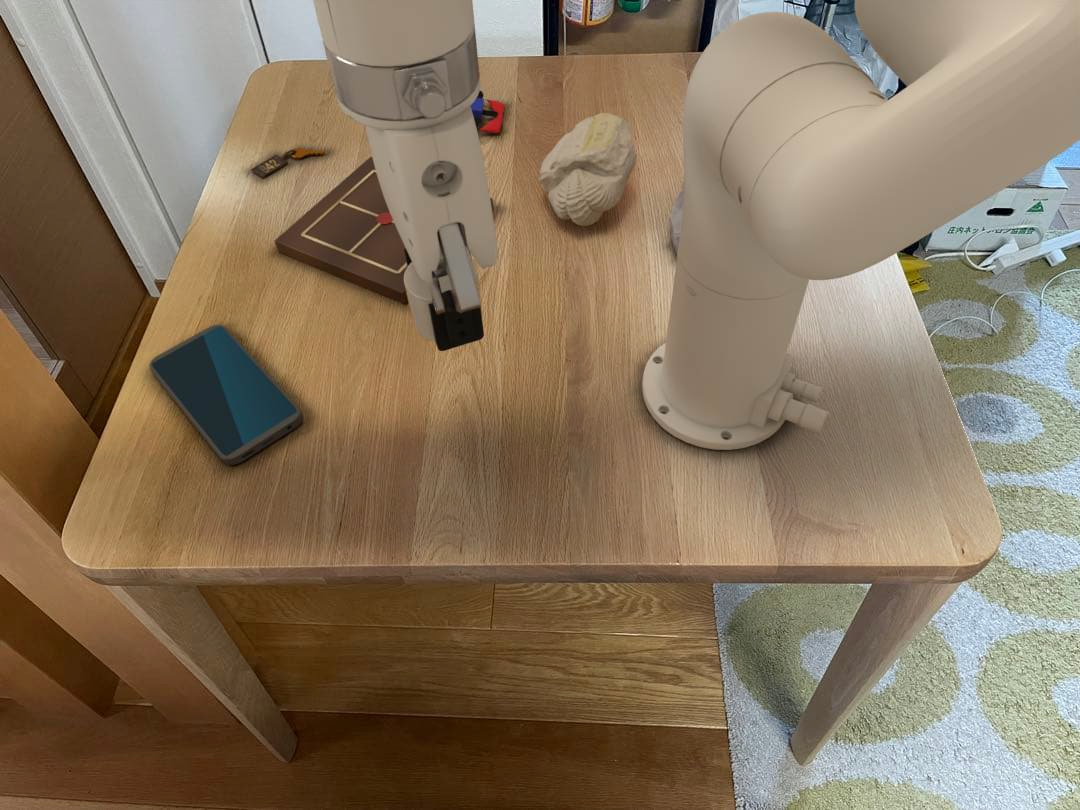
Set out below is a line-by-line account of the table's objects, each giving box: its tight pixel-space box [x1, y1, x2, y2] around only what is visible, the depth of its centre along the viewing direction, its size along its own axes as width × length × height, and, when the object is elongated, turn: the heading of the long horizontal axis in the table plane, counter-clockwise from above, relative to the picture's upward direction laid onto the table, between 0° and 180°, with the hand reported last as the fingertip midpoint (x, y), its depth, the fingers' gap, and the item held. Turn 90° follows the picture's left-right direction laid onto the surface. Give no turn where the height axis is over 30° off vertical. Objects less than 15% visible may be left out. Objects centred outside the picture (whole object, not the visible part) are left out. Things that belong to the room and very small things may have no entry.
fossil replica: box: [538, 112, 638, 227], centre depth 84 cm, size 12×8×10 cm
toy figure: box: [470, 90, 506, 134], centre depth 96 cm, size 8×5×15 cm
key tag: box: [250, 147, 326, 179], centre depth 93 cm, size 8×3×1 cm, turn 124°
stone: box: [404, 256, 484, 343], centre depth 55 cm, size 5×5×4 cm
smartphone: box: [149, 324, 304, 466], centre depth 72 cm, size 8×15×1 cm, turn 42°
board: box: [274, 156, 495, 305], centre depth 85 cm, size 16×16×2 cm
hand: (447, 312), depth 56 cm, fingers closed on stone, 4 cm apart
